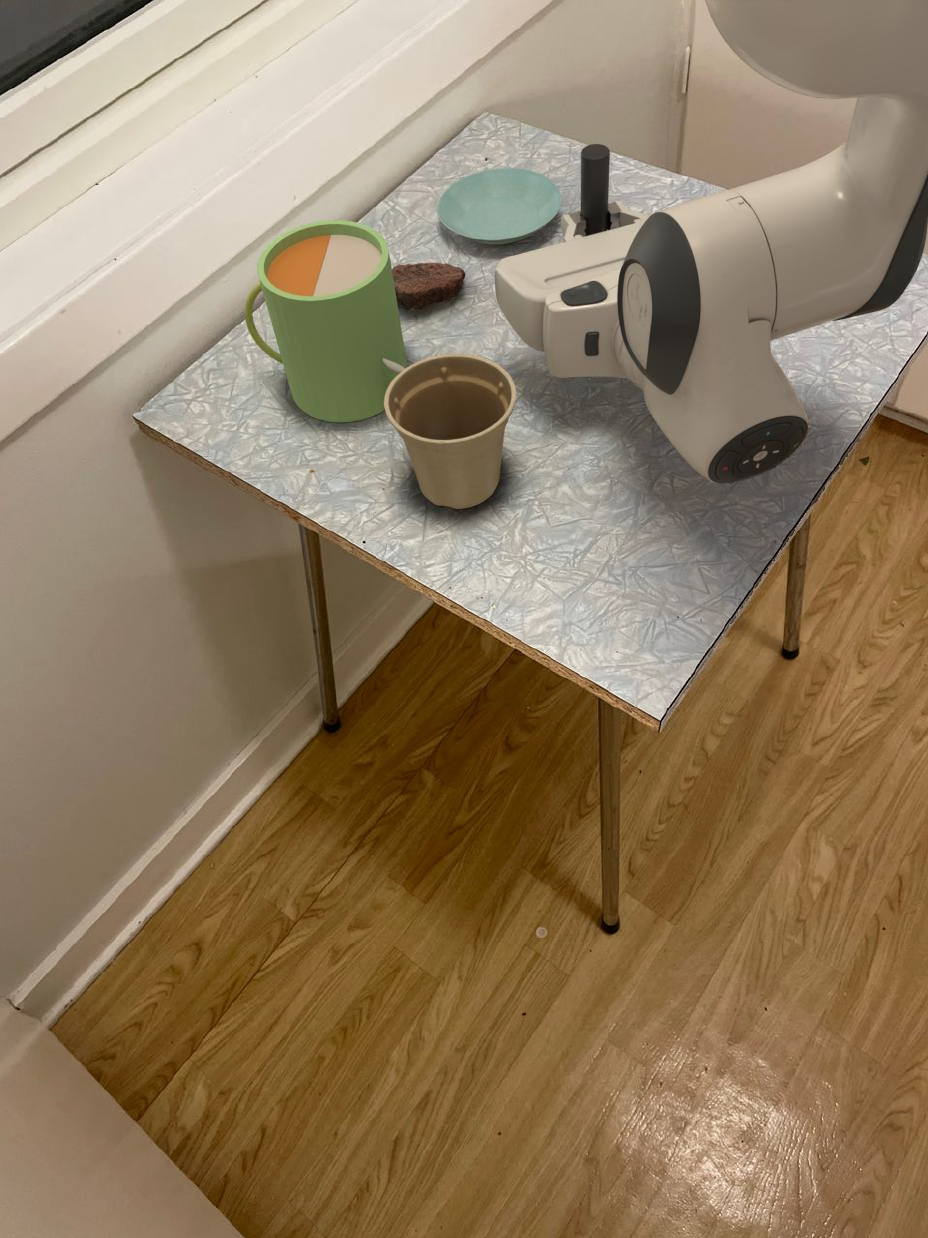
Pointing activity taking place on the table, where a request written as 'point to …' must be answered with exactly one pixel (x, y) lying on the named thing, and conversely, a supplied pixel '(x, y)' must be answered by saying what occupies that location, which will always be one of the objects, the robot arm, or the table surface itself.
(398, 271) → the grilled steak
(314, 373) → the mug
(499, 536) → the table surface
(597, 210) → the black marker
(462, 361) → the flower pot
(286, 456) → the table surface
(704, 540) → the table surface
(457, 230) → the saucer
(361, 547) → the table surface
